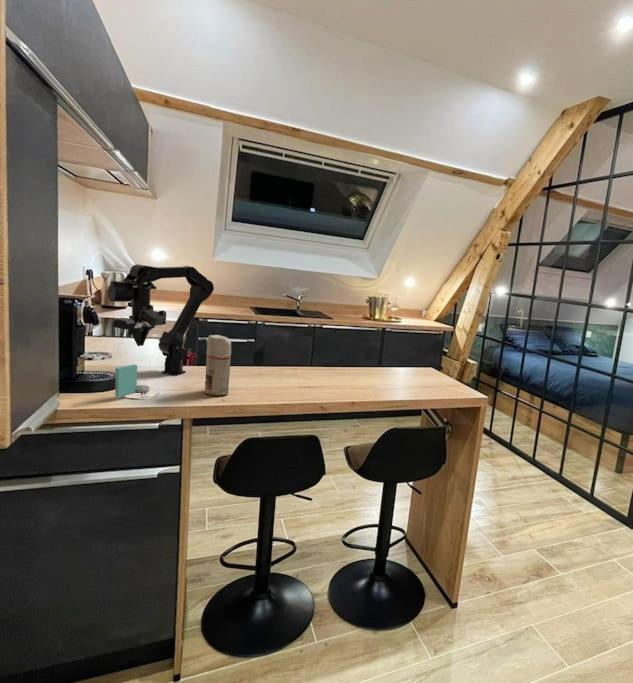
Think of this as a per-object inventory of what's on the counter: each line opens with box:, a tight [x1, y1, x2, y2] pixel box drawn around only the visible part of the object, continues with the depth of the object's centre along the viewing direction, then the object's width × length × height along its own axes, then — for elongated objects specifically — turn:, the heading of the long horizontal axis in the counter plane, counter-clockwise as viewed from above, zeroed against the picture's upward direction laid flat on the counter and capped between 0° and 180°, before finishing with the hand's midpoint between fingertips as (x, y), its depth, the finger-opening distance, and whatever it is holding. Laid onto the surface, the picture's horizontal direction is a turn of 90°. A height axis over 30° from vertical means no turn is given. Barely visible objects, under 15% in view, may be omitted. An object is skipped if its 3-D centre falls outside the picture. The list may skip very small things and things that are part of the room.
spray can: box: [203, 334, 232, 397], centre depth 135 cm, size 8×8×20 cm
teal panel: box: [115, 363, 149, 398], centre depth 125 cm, size 11×5×9 cm, turn 152°
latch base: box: [137, 386, 160, 398], centre depth 129 cm, size 11×11×1 cm
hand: (140, 345), depth 141 cm, fingers closed
